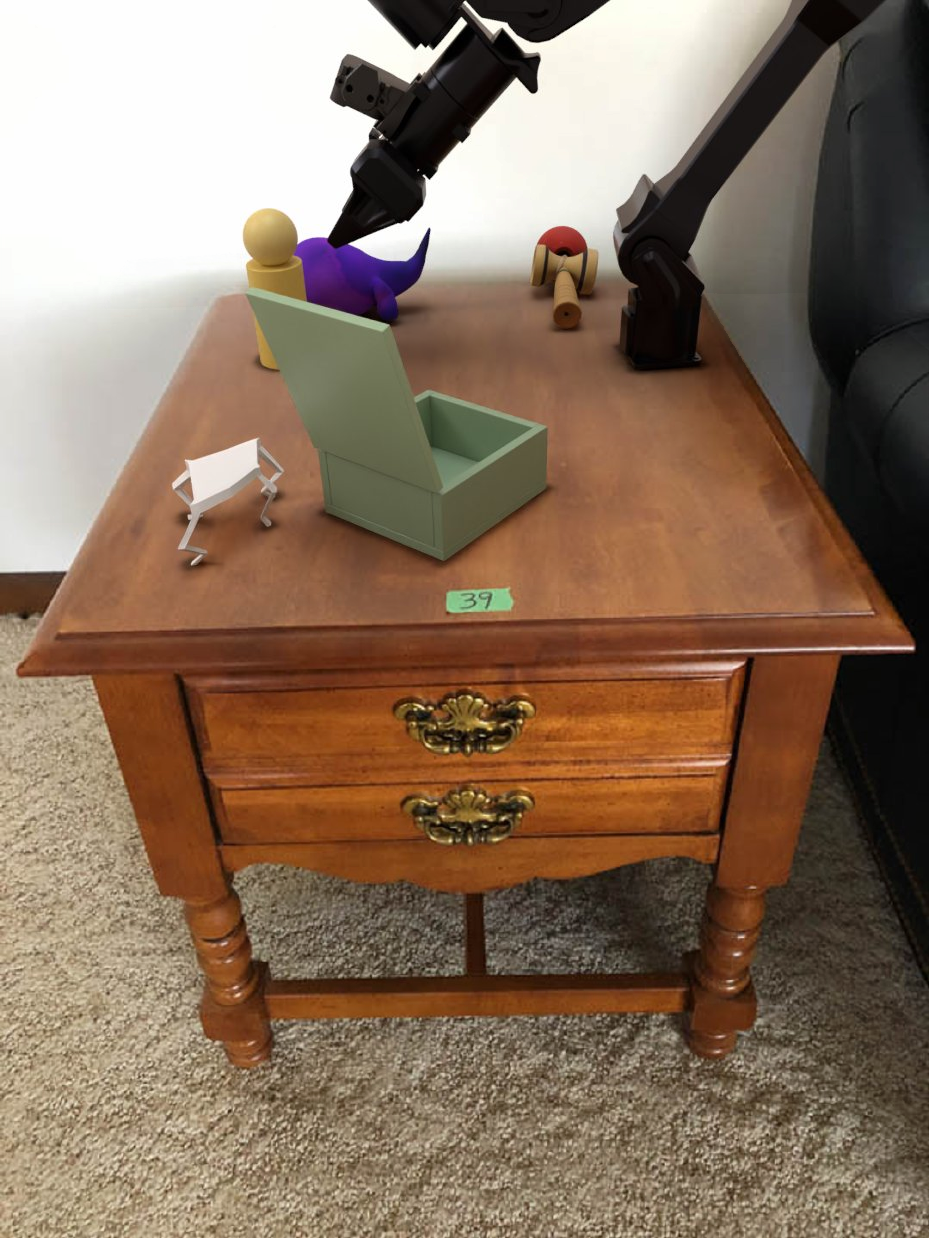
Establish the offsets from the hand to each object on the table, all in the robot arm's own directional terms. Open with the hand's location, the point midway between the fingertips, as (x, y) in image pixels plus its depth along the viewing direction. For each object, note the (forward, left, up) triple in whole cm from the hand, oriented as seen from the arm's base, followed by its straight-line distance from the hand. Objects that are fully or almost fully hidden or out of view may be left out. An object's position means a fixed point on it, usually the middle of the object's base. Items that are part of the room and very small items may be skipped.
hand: (338, 229), depth 94 cm
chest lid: (0, +35, 0) cm, 35 cm away
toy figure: (+6, -1, -12) cm, 14 cm away
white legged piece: (+10, +31, -13) cm, 35 cm away
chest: (-6, +29, -12) cm, 32 cm away
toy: (-2, -12, -13) cm, 18 cm away
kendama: (-24, -12, -13) cm, 29 cm away
